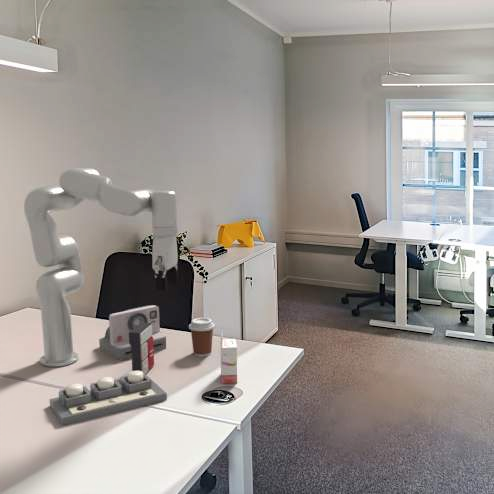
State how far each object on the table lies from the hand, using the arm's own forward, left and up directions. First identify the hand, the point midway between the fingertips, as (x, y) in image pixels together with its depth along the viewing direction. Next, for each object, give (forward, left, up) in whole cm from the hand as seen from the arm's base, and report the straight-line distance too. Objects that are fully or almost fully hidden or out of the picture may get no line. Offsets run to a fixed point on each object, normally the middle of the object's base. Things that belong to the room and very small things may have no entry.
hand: (167, 286), depth 183 cm
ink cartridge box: (+10, +16, -30) cm, 35 cm away
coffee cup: (-15, +19, -30) cm, 39 cm away
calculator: (-10, -5, -30) cm, 32 cm away
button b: (+5, -22, -26) cm, 35 cm away
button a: (+5, -31, -26) cm, 41 cm away
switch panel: (+7, -22, -30) cm, 38 cm away
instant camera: (-34, 0, -30) cm, 46 cm away
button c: (+5, -13, -26) cm, 30 cm away
